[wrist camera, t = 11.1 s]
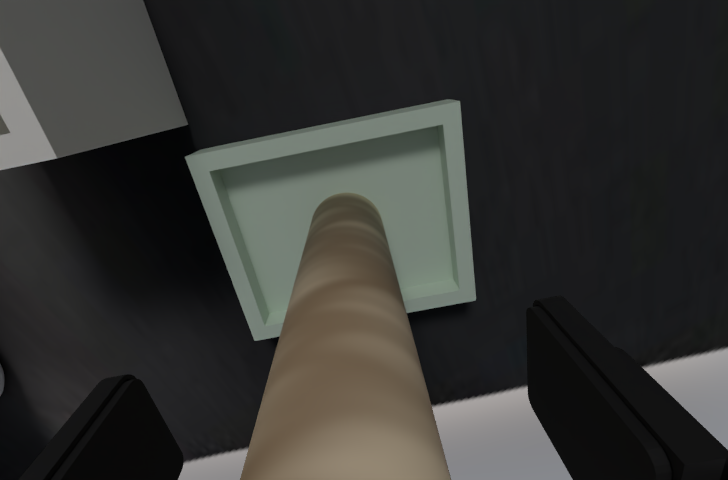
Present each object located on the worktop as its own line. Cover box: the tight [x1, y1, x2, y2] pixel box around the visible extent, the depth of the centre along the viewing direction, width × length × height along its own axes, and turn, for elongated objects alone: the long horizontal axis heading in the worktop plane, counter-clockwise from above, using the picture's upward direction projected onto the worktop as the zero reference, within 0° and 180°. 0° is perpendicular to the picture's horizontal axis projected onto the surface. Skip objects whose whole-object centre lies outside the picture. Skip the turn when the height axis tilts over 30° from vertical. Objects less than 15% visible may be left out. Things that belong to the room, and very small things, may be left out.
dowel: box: [240, 193, 451, 480], centre depth 10 cm, size 4×4×18 cm
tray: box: [185, 99, 476, 341], centre depth 19 cm, size 12×10×2 cm
